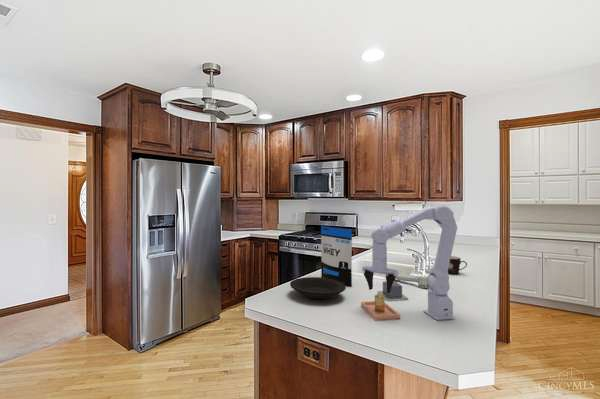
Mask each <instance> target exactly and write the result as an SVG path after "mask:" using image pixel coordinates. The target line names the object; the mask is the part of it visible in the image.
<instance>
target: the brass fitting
mask: <svg viewBox="0 0 600 399" xmlns="http://www.w3.org/2000/svg"><path fill="white" fill-rule="evenodd" d="M385 300H386V299H385V296H384V295H379V294H374V301H375V311H376V312H380V313H382V312H385V303H386V301H385Z"/></svg>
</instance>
